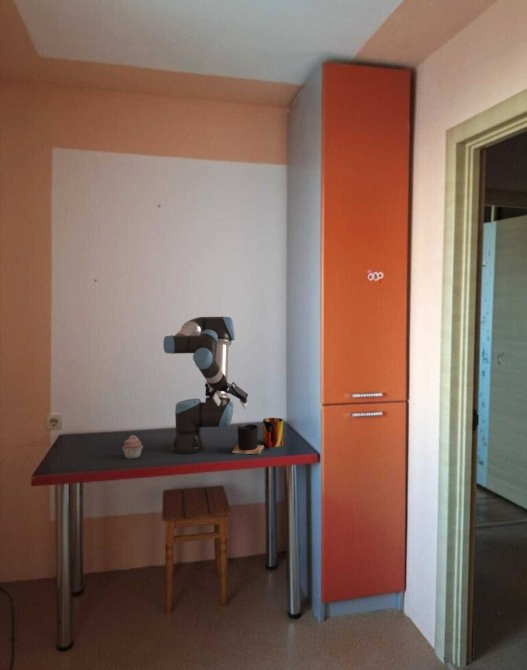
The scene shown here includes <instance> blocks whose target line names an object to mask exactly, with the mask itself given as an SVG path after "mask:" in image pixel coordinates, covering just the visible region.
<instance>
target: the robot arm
mask: <svg viewBox="0 0 527 670" xmlns="http://www.w3.org/2000/svg"><path fill="white" fill-rule="evenodd" d="M234 328H235V327H234V322H233V319H232V317H230V316H223V315H222V316H199V317H194V318H192V319H190V320H188V321H186V322H185V323H183V324H182V326H181V328H180V330H179V331H178V332H177V333H176V334H175V335H172V334H171V335H166V336H164V337H163V351H164V353H165V354H172V355H174V354H178V355H179V354H193V355H192V360H193V362H194V365H195V366H196V367H197V368H198V370H199V371H200V373H201V374H202V376H203V377H204V379H205V380H206V382H205V384H204V387H205V393H204V394H205V401H204V402H203V401H201V399H200V398H189V399H183V400H180V401H178V402H177V403H176V404H175V409H174V411H175V412H174V414H175V436H174V439H173V441H172V442H173V443H172V445H171V447H172V448H171V449H172V450H171V451H172V452H174V453H177V454H182V453H184V454H185V453H190V454H196V453H195V452H197V453H200V451H201V452H203V451H204V450H206V443H205V441H204V438H203V435H202V428H227V427H230V425H231V424H232V420H233V419H232V418H233V414H234V402H232V401H231V397H230V396H228V394H230V395H231V396H233V397H234V398H237V399H239V402H240V404H241V405H242V407H243V408H244V409H246V410H247V407H248V405H249V403H248V396H249V394H248V393H247V392H246V391H244V390H243V388H241V387H239V386H238V385H237V384H236V382H233V381H232V383H230V382H229V381H228V376H229V375H228V373H229V372H228V370H229V367H228V365H229V348H230V346H231V345H232V341H235V339H236V337H235V329H234ZM202 450H203V451H202Z"/></svg>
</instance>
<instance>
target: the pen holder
mask: <svg viewBox="0 0 527 670" xmlns="http://www.w3.org/2000/svg"><path fill="white" fill-rule="evenodd" d="M258 435H259V426H258V424H257V425H256V424H254V423H253V424H246V425H244V426H242V425H238V426H237V443H238V444H237V445H238V446H239V449H241V450H254V449H256V448H257V445H258V439H259V438H258Z"/></svg>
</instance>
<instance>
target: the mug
mask: <svg viewBox="0 0 527 670" xmlns="http://www.w3.org/2000/svg"><path fill="white" fill-rule="evenodd" d="M262 444H263V445H265V446H264V447H267V446H268V449H269V448H270V449H271V448H278V447H282V446H284V420H283V418H279V417H265V418H263V419H262Z"/></svg>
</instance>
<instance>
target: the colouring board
mask: <svg viewBox="0 0 527 670" xmlns="http://www.w3.org/2000/svg"><path fill="white" fill-rule="evenodd" d="M264 448H265V446H264V445H262V444H257V448H256V449H254V450H241V449H239V446H238V444H237V445H236V446H235V447H234V448H233V450H232V451H231V454H232V453H244V454H258V455H257V456H260V455H261V453H262V452H263V450H264ZM262 449H263V450H262ZM261 451H262V452H261ZM259 454H260V455H259Z"/></svg>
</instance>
